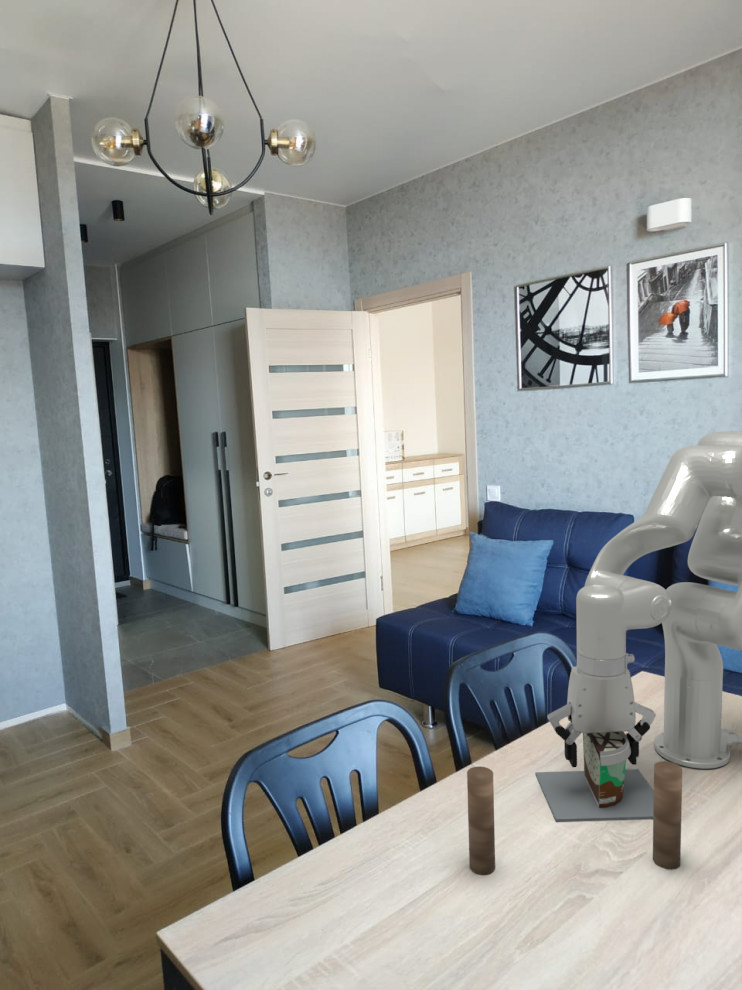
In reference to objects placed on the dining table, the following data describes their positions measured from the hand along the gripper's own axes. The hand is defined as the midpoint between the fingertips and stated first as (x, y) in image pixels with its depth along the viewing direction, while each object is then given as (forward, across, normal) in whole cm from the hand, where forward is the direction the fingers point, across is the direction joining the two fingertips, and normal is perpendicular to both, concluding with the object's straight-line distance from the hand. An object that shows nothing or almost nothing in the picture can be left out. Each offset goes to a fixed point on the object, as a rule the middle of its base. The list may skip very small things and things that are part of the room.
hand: (601, 761), depth 115 cm
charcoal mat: (+6, 0, 0) cm, 6 cm away
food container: (+6, -1, 0) cm, 6 cm away
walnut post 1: (+5, +22, +17) cm, 29 cm away
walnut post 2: (+6, -4, +17) cm, 19 cm away
